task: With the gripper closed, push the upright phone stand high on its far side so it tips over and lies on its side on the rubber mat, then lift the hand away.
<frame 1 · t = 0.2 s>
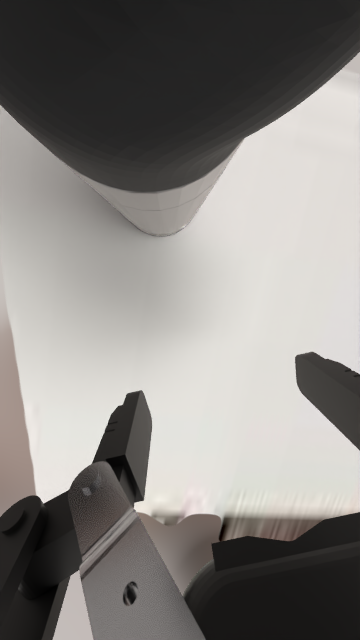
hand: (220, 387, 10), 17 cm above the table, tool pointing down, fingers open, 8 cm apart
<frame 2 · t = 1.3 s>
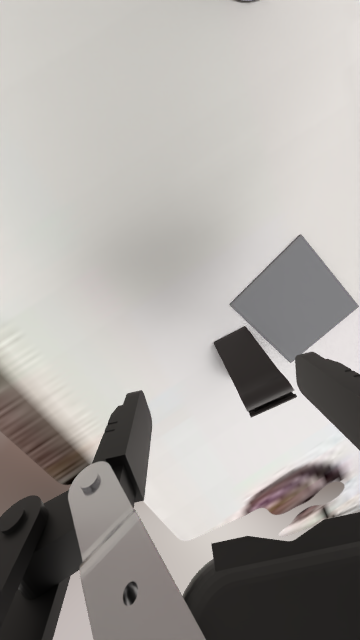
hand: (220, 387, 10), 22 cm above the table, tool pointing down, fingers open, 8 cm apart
phone stand: (239, 353, 35), on the table
mat: (294, 305, 32), on the table
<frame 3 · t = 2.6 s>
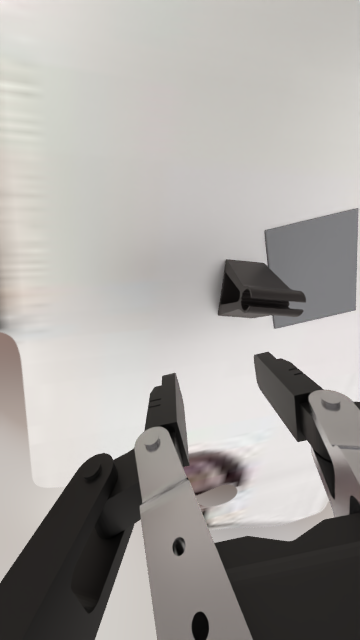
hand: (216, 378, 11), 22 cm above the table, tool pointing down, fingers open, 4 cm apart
phone stand: (239, 289, 32), on the table
mat: (312, 272, 32), on the table
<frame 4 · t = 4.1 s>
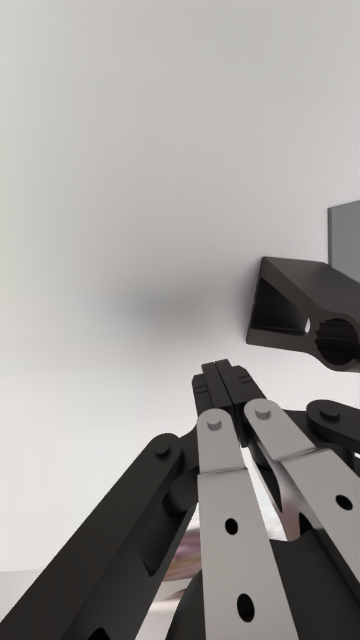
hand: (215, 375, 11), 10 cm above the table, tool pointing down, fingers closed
phone stand: (280, 304, 21), on the table
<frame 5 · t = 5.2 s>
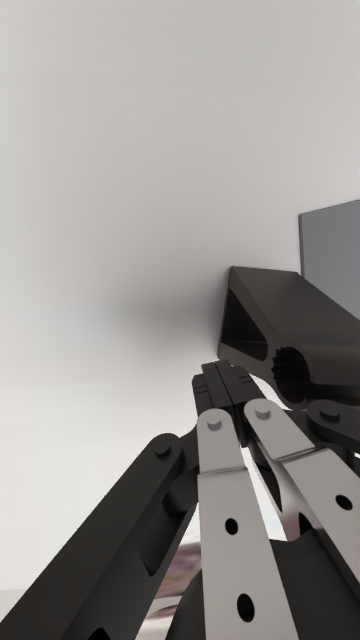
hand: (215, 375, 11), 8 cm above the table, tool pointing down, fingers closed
phone stand: (252, 315, 19), on the table, touching gripper
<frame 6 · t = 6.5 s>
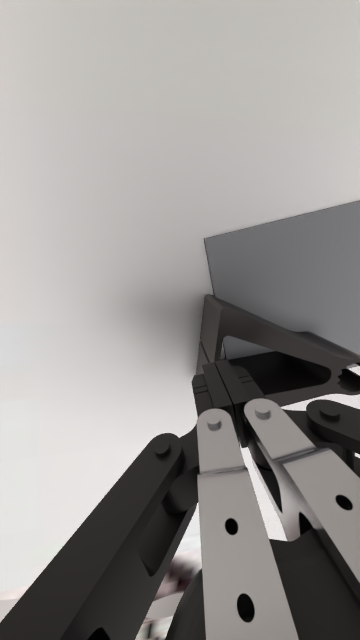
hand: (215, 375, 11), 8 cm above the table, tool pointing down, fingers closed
phone stand: (202, 352, 16), point 3 cm above the table, touching mat
mat: (289, 308, 19), on the table
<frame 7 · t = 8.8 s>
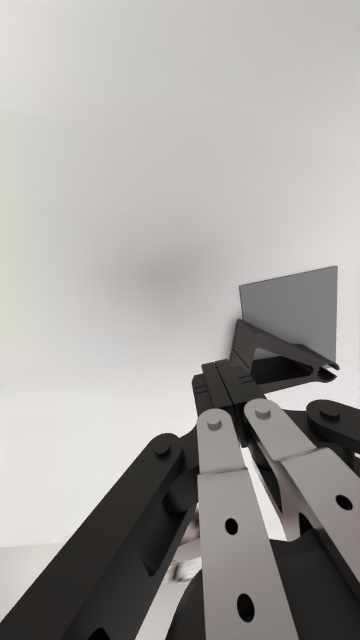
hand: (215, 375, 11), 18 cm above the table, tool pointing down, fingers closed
phone stand: (238, 356, 27), point 3 cm above the table, touching mat
mat: (289, 328, 30), on the table
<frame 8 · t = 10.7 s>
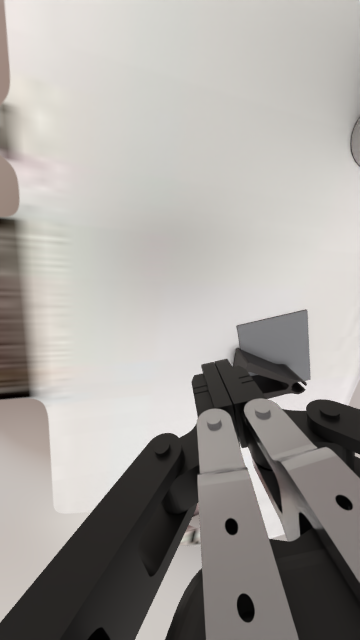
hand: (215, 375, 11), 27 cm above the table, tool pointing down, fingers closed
phone stand: (236, 375, 38), point 3 cm above the table, touching mat
mat: (274, 353, 41), on the table
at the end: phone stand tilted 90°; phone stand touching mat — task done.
